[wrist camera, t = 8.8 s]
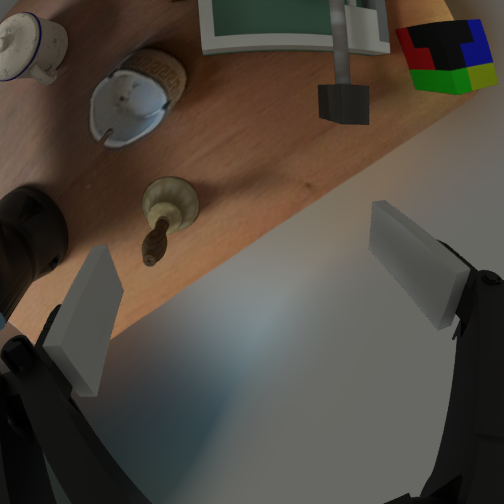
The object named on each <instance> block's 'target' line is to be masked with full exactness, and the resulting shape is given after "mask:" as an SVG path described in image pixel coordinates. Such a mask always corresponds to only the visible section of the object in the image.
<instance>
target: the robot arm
mask: <svg viewBox="0 0 504 504" xmlns="http://www.w3.org/2000/svg"><path fill="white" fill-rule="evenodd" d="M67 246H68V232H67V227H66V223H65V220H64V218H63V215H62V213H61V212H60V210H59V208H58V207H57V205H56V204H55V203H54V202H53V201H52V199H50V198H49V197H48V196H47V195H46V194H44V193H43V192H41V191H39V190H37V189H35V188H31V187H20V188H17V189H14V190H13V191H11V192H10V193H8V194H7V195H5V196H4V197H3V198H2V199H1V200H0V331H1V329H3V328H4V326H5V324H6V323H7V321H8V319H9V318H10V316H11V314H12V313H13V311H14V309H15V308H16V306H17V305H18V303H19V302H20V300H21V298H22V297H23V295H24V294H25V292H26V291H27V289H28V288H29V286H30V285H31V284H32V282H34V281H35V280H37V279H39V278H41V277H43V276H45V275H47V274H49V273H50V272H52V271H53V270H54V269H55V268H56V267H57V266H58V264H59V263H60V262H61V260H62V259H63V257H64V256H65V253H66V250H67ZM369 250H370V251H371V252H372V254H373V255H374V256H375V257H376V258H377V259H378V260H379V261H380V262H381V264H382V265H383V266H384V267H385V268H386V269H387V270H388V271H389V272H390V274H391V275H392V276H393V277H394V278H395V280H396V281H397V282H398V283H399V284H400V285H401V286H402V288H403V289H404V290H405V291H406V292H407V294H408V295H409V296H410V297H411V298H412V300H413V301H414V302H415V303H416V304H417V306H418V307H419V308H420V309H421V311H423V313H424V314H425V315H426V317H427V318H428V319H429V320H430V322H431V323H432V324H433V325H434V327H435V328H436V329H437V330H441V329H443V328H445V327H448V326H451V324H452V321H453V319H454V316H455V314H456V315H457V316H458V317H459V318H460V321H459V323H458V326H457V328H456V331H455V333H454V335H453V338H452V340H454V339H455V337H456V336H457V344H456V355H455V364H454V373H453V381H452V388H451V394H450V401H449V406H448V412H447V417H446V422H445V427H444V431H443V435H442V440H441V444H440V448H439V452H438V455H437V459H436V463H435V466H434V469H433V472H432V474H431V476H430V477H429V479H428V480H427V482H426V484H425V486H424V488H423V490H422V492H421V494H420V497H412V498H411V497H410V494H409V493H407V494H405V495H403V496H401V497H398V498H396V499H394V500H391V501H389V502H387V503H384V504H504V280H502V279H501V277H500V276H498V275H497V274H496V273H494V272H492V271H489V270H481V271H478V270H477V269H475V268H474V267H473V266H472V265H471V264H470V263H469V262H467V261H466V260H465V259H464V258H463V257H462V256H460V255H459V254H458V253H457V252H456V251H454V250H453V249H452V248H451V247H450V246H449V245H447V244H445V243H443V242H441V241H439V240H436V239H435V238H434V237H432V236H431V235H430V234H429V233H427V232H426V231H425V230H424V229H422V228H421V227H420V226H418V225H417V224H416V223H415V222H413V221H412V220H411V219H409V218H408V217H407V216H405V215H404V214H403V213H401V212H400V211H399V210H397V209H396V208H395V207H393V206H392V205H391V204H389V203H388V202H387V201H385V200H384V201H375V202H372V214H371V228H370V239H369ZM123 292H124V290H123V287H122V284H121V282H120V279H119V277H118V274H117V271H116V269H115V266H114V263H113V261H112V258H111V255H110V252H109V249H108V246H107V244H104V245H99V246H94V247H93V248H92V249H91V251H90V253H89V255H88V256H87V258H86V260H85V262H84V263H83V265H82V267H81V269H80V271H79V272H78V274H77V276H76V278H75V280H74V282H73V284H72V285H71V287H70V289H69V291H68V293H67V295H66V297H65V299H64V301H63V303H62V304H59V305H57V306H56V307H55V308H54V310H53V311H52V312H51V313H50V315H49V317H48V319H47V321H46V323H45V325H44V327H43V330H42V331H41V333H40V336H39V338H38V340H37V342H36V344H35V347H33V345H32V344H31V342H30V341H29V339H28V338H27V337H26V336H24V335H17V336H15V337H13V338H11V339H10V340H9V341H8V342H7V343H6V344H5V345H4V346H3V348H2V350H1V355H0V357H1V359H2V360H3V361H4V363H5V364H6V365H7V367H8V368H9V369H10V370H11V371H10V372H7V373H4V374H1V372H0V504H57V503H56V500H55V497H54V494H53V490H52V487H51V483H50V480H49V476H48V472H47V468H46V464H45V460H44V456H43V452H44V454H45V456H46V458H47V460H48V462H49V464H50V466H51V468H52V470H53V472H54V474H55V476H56V477H57V479H58V481H59V483H60V485H61V486H62V488H63V490H64V491H65V493H66V495H67V496H68V498H69V500H70V501H71V503H72V504H152V503H151V502H150V501H149V500H148V499H147V498H146V497H145V495H144V494H143V493H142V492H141V491H140V490H139V489H138V488H137V486H136V485H135V484H134V483H133V482H132V481H131V479H130V478H129V477H128V476H127V475H126V473H125V472H124V471H123V470H122V468H121V467H120V466H119V465H118V463H117V462H116V461H115V460H114V458H113V457H112V456H111V454H110V453H109V452H108V450H107V449H106V447H105V446H104V445H103V443H102V442H101V441H100V439H99V438H98V436H97V435H96V434H95V432H94V430H93V429H92V427H91V426H90V424H89V423H88V421H87V420H86V418H85V417H84V415H83V414H82V412H81V410H80V409H79V407H78V406H77V404H76V402H75V401H74V399H73V398H72V397H71V396H70V395H71V391H72V387H73V389H74V390H75V391H76V392H77V394H78V395H79V396H80V397H96V396H97V392H98V388H99V383H100V379H101V373H102V370H103V365H104V361H105V357H106V353H107V349H108V345H109V341H110V337H111V333H112V330H113V326H114V322H115V319H116V315H117V312H118V308H119V305H120V302H121V298H122V295H123ZM42 450H43V451H42Z"/></svg>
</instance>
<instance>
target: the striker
mask: <svg viewBox="0 0 504 504" xmlns="http://www.w3.org/2000/svg"><path fill="white" fill-rule="evenodd" d="M329 7H330V17H331V27H332V38H333V51H334V65H335V84H333V85H318V101H319V118H322V119H326V120H329V121H333V122H336V123H339V124H360V125H369V86H360V85H351V82H350V62H349V48H348V35H347V25H346V15H345V6H344V0H329Z"/></svg>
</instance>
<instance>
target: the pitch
mask: <svg viewBox="0 0 504 504" xmlns="http://www.w3.org/2000/svg"><path fill="white" fill-rule="evenodd" d="M198 6H199V19H200V31H201V43H202V52H203V55H204V56H209V55H218V54H229V53H242V52H260V51H316V52H334V51H333V38H332V27H331V17H330V7H329V0H198ZM344 6H345V15H346V25H347V35H348V48H349V54H358V55H367V56H374V55H382V54H390V43H389V31H388V21H387V12H386V5H385V0H344Z"/></svg>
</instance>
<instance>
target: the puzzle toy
mask: <svg viewBox="0 0 504 504" xmlns="http://www.w3.org/2000/svg"><path fill="white" fill-rule="evenodd" d="M395 32H396V34H397V37H398V39H399V42H400V44H401V47H402V50H403V52H404V55H405V58H406V61H407V64H408V67H409V70H410V73H411V76H412V79H413V82H414V86H415V89H416V90H424V91H432V92H440V93H447V94H453V95H460V94H463V93H467V92H470V91H474V90H477V89H481V88H485V87H488V86H492V85H496V84H498V81H497V76H496V72H495V67H494V64H493V59H492V56H491V52H490V49H489V45H488V42H487V39H486V35H485V32H484V29H483V26H482V24H481V21H480V19H477V20H456V21H443V22H434V23H428V24H422V25H416V26H411V27H406V28H401V29H397V30H395Z"/></svg>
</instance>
